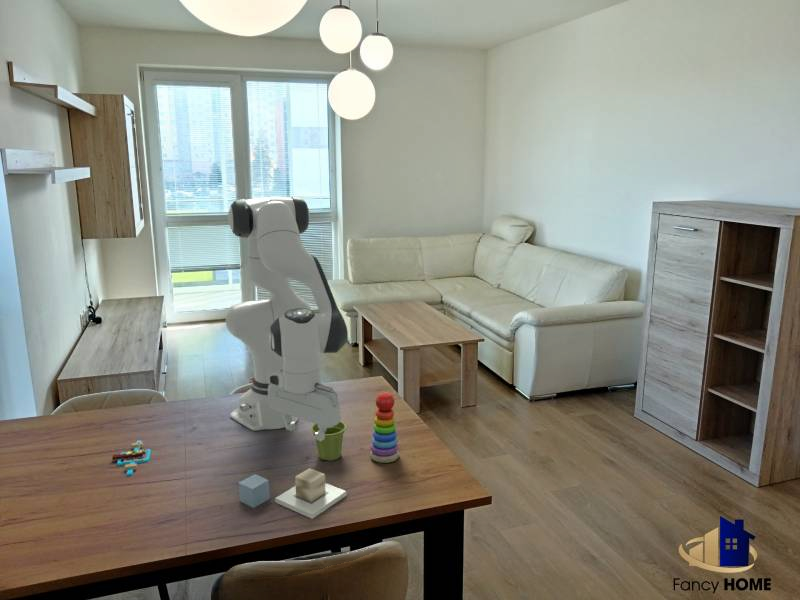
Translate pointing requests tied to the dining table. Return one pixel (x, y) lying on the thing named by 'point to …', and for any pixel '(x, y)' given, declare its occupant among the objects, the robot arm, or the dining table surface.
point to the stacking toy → (384, 431)
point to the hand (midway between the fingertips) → (305, 434)
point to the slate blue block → (254, 490)
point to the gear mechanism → (130, 454)
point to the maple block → (310, 484)
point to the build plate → (312, 507)
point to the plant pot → (330, 441)
